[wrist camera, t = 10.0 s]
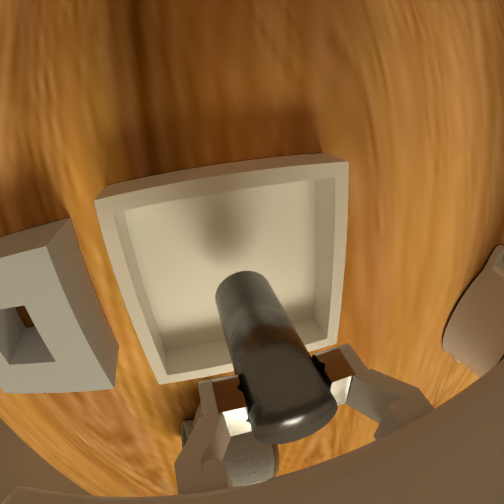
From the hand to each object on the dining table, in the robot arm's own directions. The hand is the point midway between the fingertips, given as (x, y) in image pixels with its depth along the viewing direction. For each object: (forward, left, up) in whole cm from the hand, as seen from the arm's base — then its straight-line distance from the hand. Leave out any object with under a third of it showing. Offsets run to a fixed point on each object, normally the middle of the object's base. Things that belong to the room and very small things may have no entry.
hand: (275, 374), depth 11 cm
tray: (0, 0, -9) cm, 9 cm away
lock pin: (0, 0, -6) cm, 6 cm away
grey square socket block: (+14, 0, -9) cm, 17 cm away
